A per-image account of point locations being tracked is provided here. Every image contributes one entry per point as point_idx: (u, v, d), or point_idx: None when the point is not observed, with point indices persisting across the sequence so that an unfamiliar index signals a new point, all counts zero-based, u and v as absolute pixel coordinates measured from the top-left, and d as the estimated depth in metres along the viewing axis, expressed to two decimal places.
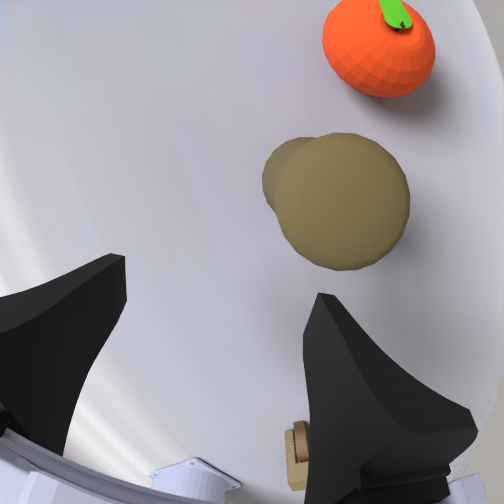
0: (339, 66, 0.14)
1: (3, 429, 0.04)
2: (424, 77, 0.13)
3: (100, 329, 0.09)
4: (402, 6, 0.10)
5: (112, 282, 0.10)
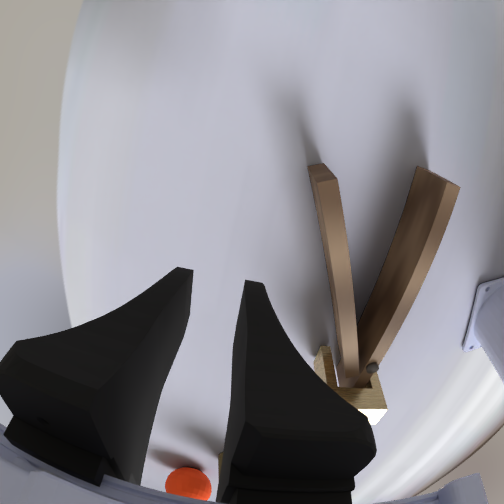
0: (209, 491, 0.34)
1: (102, 477, 0.04)
2: (177, 489, 0.32)
3: (172, 348, 0.09)
4: None
5: (184, 298, 0.10)
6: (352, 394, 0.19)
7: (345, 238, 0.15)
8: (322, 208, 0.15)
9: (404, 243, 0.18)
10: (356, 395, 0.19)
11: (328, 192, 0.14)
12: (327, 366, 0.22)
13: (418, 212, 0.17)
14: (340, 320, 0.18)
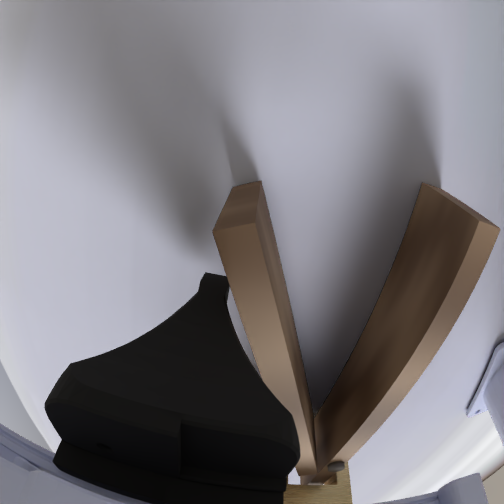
0: None
1: None
2: None
3: None
4: None
5: None
6: (307, 494, 0.12)
7: (279, 330, 0.08)
8: (229, 279, 0.08)
9: (394, 312, 0.11)
10: (312, 495, 0.12)
11: (238, 250, 0.07)
12: None
13: (421, 266, 0.10)
14: None
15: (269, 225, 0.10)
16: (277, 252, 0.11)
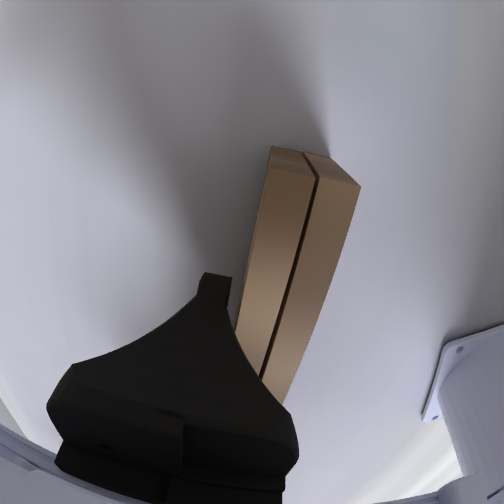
0: None
1: None
2: None
3: None
4: None
5: None
6: None
7: (279, 297, 0.08)
8: (259, 224, 0.07)
9: None
10: None
11: (285, 197, 0.07)
12: None
13: None
14: None
15: None
16: None
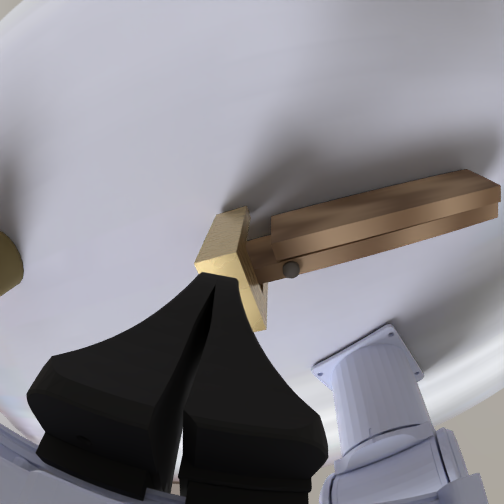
0: None
1: (145, 491, 0.04)
2: None
3: (200, 354, 0.09)
4: None
5: (212, 304, 0.10)
6: (251, 272, 0.15)
7: (462, 210, 0.14)
8: (484, 189, 0.13)
9: None
10: (253, 278, 0.15)
11: (494, 194, 0.13)
12: (245, 223, 0.17)
13: None
14: (377, 217, 0.15)
15: None
16: None
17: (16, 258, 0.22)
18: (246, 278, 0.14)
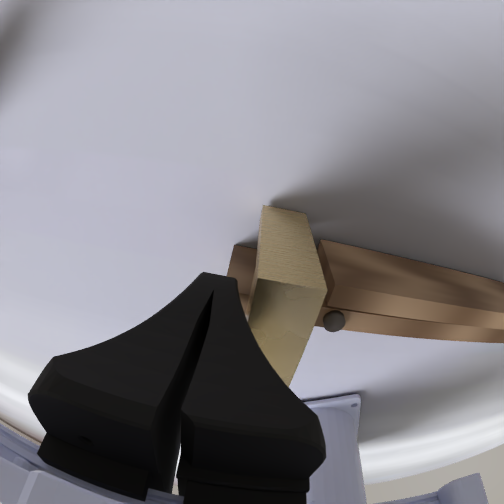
0: None
1: (147, 491, 0.04)
2: None
3: None
4: None
5: None
6: None
7: None
8: None
9: None
10: None
11: None
12: None
13: None
14: (448, 305, 0.11)
15: None
16: None
17: None
18: (312, 326, 0.09)
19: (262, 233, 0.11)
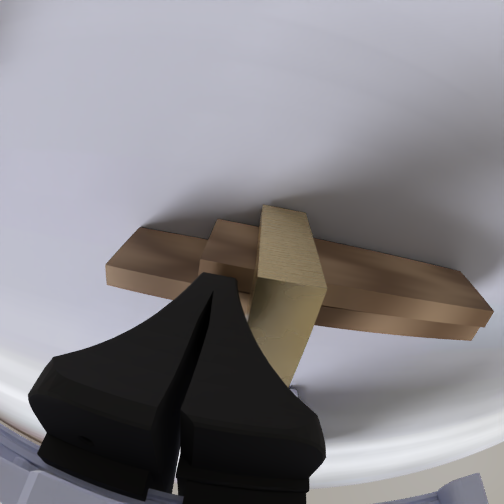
0: None
1: (147, 491, 0.04)
2: None
3: None
4: None
5: None
6: None
7: (443, 321, 0.12)
8: (476, 308, 0.12)
9: None
10: None
11: (482, 317, 0.12)
12: None
13: None
14: (349, 288, 0.11)
15: None
16: None
17: None
18: (312, 325, 0.09)
19: (262, 232, 0.11)
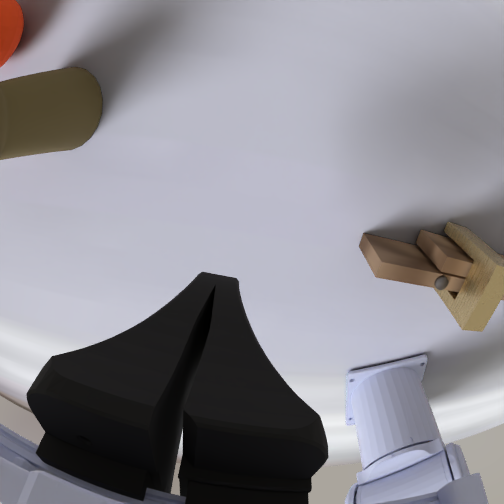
0: None
1: (145, 491, 0.04)
2: None
3: (200, 354, 0.09)
4: None
5: (212, 304, 0.10)
6: None
7: None
8: None
9: None
10: None
11: None
12: None
13: None
14: None
15: None
16: None
17: (96, 117, 0.17)
18: None
19: (471, 241, 0.16)
